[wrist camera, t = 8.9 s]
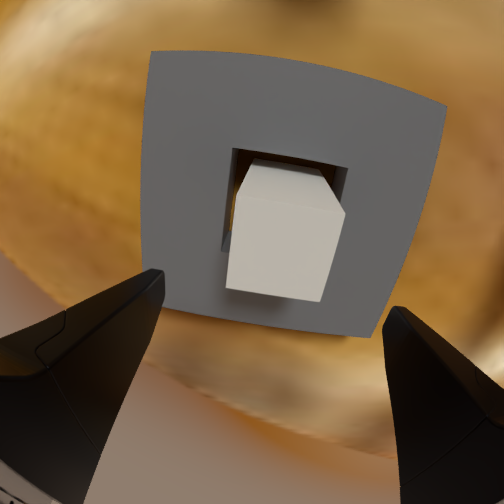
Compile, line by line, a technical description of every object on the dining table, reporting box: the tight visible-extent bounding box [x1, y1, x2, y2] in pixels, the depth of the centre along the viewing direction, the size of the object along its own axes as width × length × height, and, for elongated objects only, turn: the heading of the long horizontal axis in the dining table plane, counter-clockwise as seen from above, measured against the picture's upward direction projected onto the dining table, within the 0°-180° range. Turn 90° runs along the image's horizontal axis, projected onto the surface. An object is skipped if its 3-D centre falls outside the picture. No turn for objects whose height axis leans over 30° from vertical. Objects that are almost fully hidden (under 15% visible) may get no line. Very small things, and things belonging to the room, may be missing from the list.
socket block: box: [141, 51, 447, 338], centre depth 17 cm, size 16×16×3 cm
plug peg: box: [226, 158, 345, 302], centre depth 15 cm, size 4×4×8 cm
